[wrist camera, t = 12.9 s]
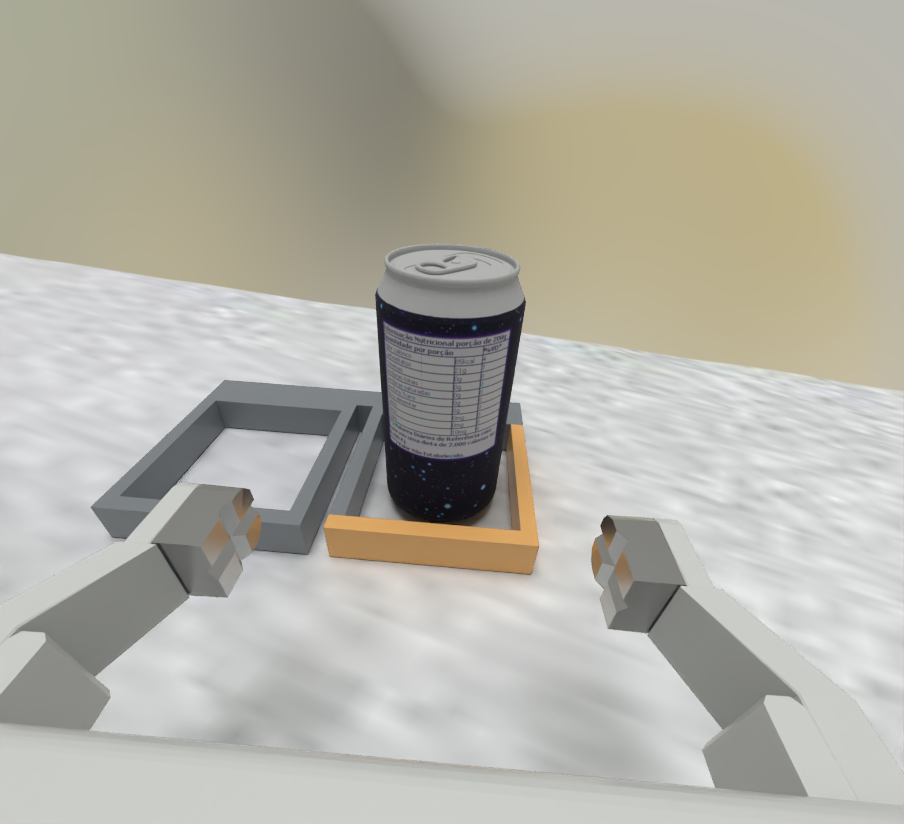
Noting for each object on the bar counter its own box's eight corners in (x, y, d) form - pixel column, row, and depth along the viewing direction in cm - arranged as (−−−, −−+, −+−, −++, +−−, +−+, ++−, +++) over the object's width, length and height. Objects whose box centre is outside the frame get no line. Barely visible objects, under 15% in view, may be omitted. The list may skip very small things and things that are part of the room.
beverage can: (515, 494, 21) (563, 265, 14) (436, 556, 18) (448, 296, 11) (444, 442, 24) (455, 235, 18) (366, 486, 21) (341, 252, 14)
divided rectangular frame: (111, 536, 18) (90, 507, 17) (233, 405, 26) (224, 380, 25) (530, 574, 17) (539, 546, 16) (515, 428, 26) (519, 403, 25)
